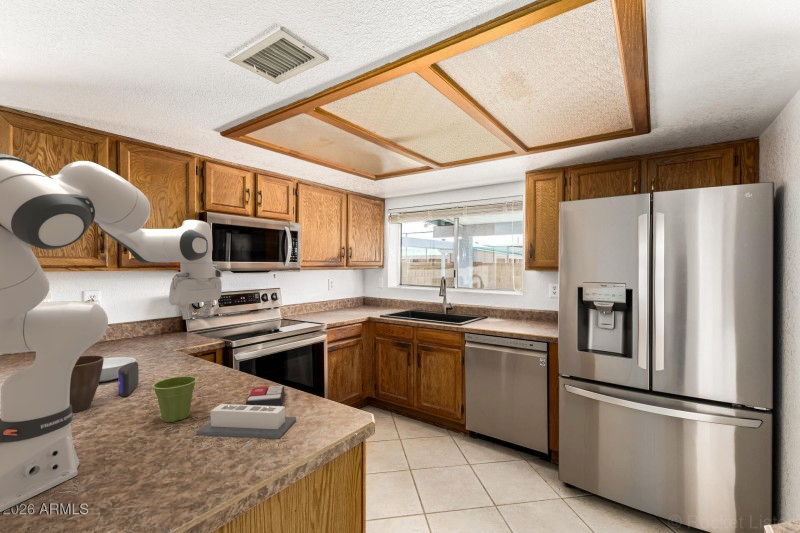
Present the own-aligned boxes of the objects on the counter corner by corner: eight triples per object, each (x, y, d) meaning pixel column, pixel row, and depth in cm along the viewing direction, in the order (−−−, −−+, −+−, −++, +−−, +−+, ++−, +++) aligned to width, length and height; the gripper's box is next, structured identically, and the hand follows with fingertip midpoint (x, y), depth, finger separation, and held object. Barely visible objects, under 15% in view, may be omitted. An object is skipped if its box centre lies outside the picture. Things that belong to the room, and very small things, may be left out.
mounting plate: (278, 438, 100) (278, 415, 100) (196, 434, 103) (196, 412, 103) (296, 420, 112) (296, 399, 112) (221, 417, 115) (221, 396, 115)
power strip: (277, 429, 104) (277, 412, 104) (210, 426, 106) (210, 409, 106) (285, 421, 109) (284, 405, 109) (221, 418, 111) (221, 403, 111)
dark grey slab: (125, 385, 145) (125, 361, 145) (139, 384, 147) (139, 360, 147) (113, 399, 131) (112, 372, 131) (128, 397, 133) (128, 371, 133)
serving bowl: (127, 383, 149) (127, 366, 149) (61, 390, 141) (61, 372, 141) (142, 369, 168) (142, 354, 168) (85, 375, 160) (84, 359, 160)
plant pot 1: (111, 407, 123) (111, 359, 123) (51, 422, 111) (51, 369, 111) (95, 398, 132) (94, 353, 132) (38, 412, 119) (37, 362, 119)
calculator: (284, 384, 136) (281, 396, 121) (284, 396, 136) (281, 409, 121) (252, 386, 133) (245, 399, 119) (252, 398, 133) (245, 412, 119)
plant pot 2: (158, 413, 118) (157, 378, 118) (200, 408, 122) (199, 374, 122) (147, 429, 107) (147, 390, 107) (194, 422, 111) (193, 385, 111)
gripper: (183, 273, 105) (183, 322, 105) (225, 272, 125) (225, 312, 125) (162, 273, 105) (163, 321, 105) (207, 272, 126) (208, 312, 126)
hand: (197, 316), depth 115 cm, fingers open, 8 cm apart
